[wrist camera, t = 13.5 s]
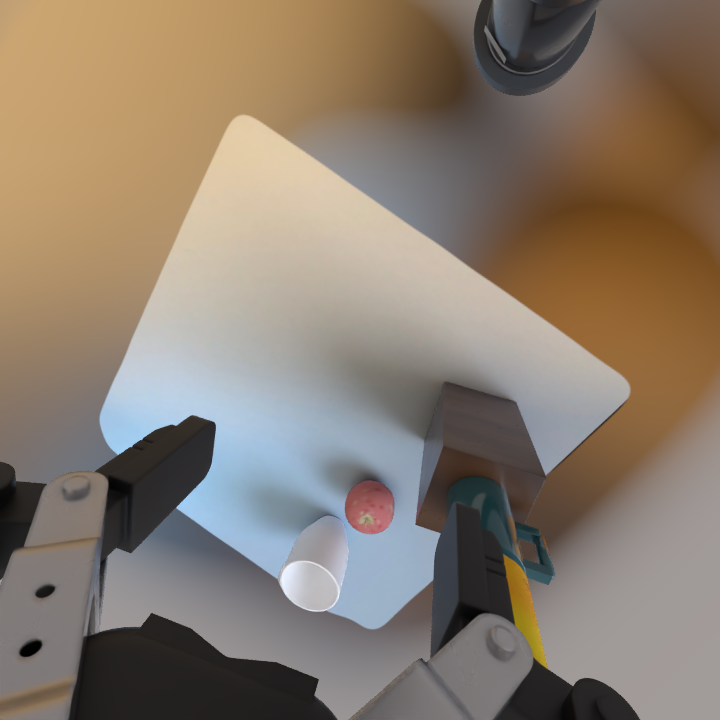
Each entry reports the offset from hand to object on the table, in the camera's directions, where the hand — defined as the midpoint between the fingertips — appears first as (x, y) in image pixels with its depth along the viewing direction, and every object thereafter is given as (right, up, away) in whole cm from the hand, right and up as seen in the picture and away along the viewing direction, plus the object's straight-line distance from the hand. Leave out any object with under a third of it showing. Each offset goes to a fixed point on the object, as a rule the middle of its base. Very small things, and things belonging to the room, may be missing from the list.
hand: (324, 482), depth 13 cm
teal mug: (+14, -11, +27) cm, 33 cm away
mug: (-5, -25, +56) cm, 61 cm away
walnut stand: (+17, -5, +44) cm, 47 cm away
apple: (+3, -17, +51) cm, 54 cm away
